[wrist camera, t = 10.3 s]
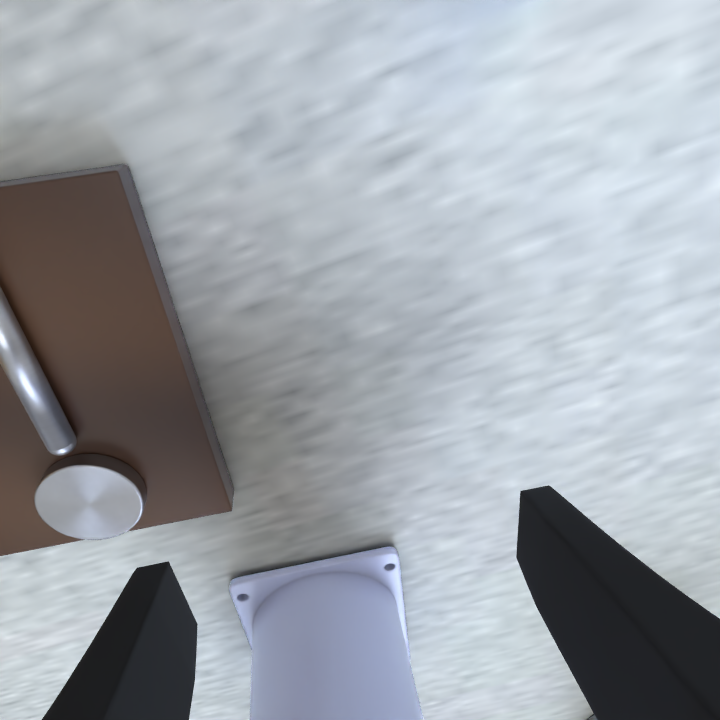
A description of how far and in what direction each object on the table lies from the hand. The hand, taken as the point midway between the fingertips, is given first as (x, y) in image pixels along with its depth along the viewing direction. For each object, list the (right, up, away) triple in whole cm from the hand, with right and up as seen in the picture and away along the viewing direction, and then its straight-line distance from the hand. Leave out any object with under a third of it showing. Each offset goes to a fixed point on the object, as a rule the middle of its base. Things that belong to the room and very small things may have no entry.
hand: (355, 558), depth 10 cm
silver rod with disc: (-10, +2, +7) cm, 12 cm away
